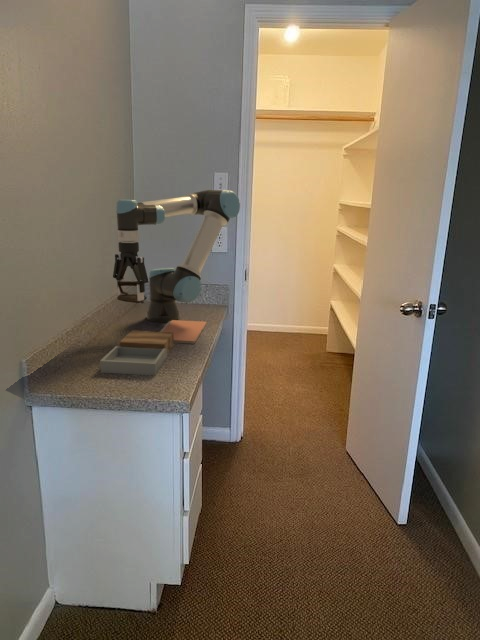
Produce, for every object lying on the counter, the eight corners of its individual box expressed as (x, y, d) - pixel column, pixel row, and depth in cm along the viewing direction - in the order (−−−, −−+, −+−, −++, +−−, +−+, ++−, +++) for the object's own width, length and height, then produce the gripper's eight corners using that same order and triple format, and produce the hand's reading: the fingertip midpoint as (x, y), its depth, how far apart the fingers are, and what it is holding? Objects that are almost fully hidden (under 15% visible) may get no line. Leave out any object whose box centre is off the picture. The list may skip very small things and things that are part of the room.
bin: (117, 355, 160) (116, 345, 159) (167, 358, 159) (166, 347, 158) (100, 372, 145) (99, 360, 144) (155, 375, 144) (155, 363, 143)
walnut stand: (132, 342, 174) (132, 330, 172) (173, 344, 173) (173, 332, 171) (120, 355, 160) (119, 342, 159) (164, 357, 159) (164, 344, 158)
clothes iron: (141, 304, 174) (133, 279, 171) (115, 309, 177) (107, 285, 174) (148, 298, 181) (140, 274, 177) (123, 303, 183) (115, 279, 180)
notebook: (169, 323, 202) (169, 319, 201) (206, 325, 200) (206, 321, 199) (152, 343, 176) (152, 338, 175) (194, 345, 174) (194, 340, 173)
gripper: (101, 240, 175) (104, 295, 181) (142, 244, 163) (144, 304, 169) (116, 238, 181) (119, 292, 187) (157, 243, 168) (158, 300, 175)
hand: (131, 298), depth 178 cm, fingers closed on clothes iron, 10 cm apart
